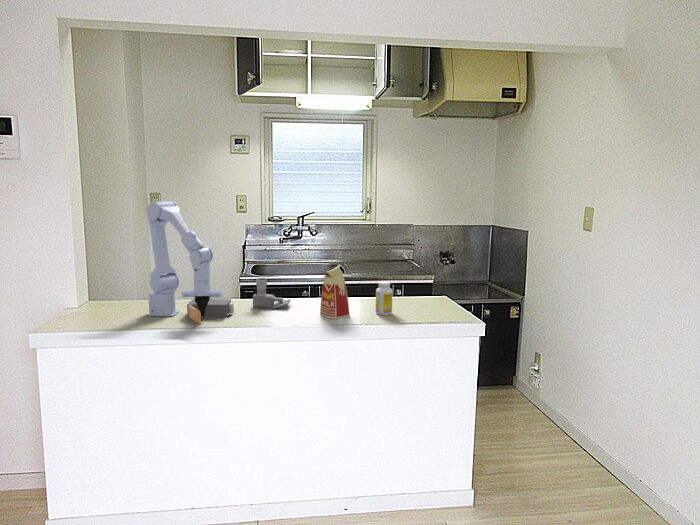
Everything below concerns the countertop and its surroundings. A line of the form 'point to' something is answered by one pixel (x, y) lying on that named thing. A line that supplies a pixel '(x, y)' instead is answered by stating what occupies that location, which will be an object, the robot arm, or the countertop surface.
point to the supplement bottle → (384, 298)
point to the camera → (266, 297)
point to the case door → (194, 314)
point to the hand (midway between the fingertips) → (202, 315)
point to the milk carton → (334, 295)
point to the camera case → (215, 307)
